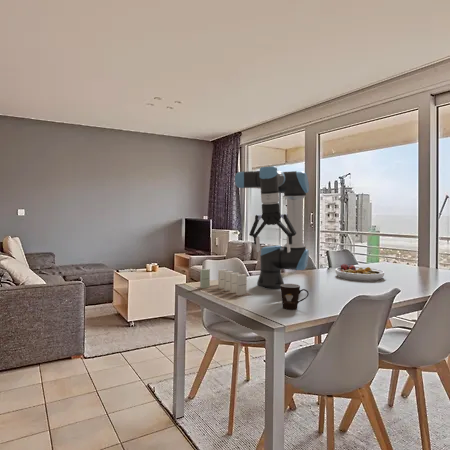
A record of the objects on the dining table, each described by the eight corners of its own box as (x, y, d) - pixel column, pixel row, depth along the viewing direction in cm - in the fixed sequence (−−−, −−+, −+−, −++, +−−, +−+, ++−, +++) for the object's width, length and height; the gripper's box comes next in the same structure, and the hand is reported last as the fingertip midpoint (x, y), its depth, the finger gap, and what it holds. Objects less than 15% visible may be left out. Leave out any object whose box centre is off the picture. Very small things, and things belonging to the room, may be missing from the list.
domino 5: (236, 294, 185) (236, 275, 185) (244, 293, 188) (244, 274, 187) (238, 295, 184) (238, 275, 183) (246, 294, 186) (246, 274, 186)
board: (194, 288, 203) (194, 287, 203) (221, 285, 212) (221, 284, 212) (223, 300, 176) (223, 298, 176) (252, 296, 185) (252, 294, 185)
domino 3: (224, 290, 195) (224, 271, 195) (232, 289, 198) (232, 270, 198) (225, 290, 194) (225, 272, 194) (233, 289, 197) (233, 271, 196)
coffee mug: (276, 307, 163) (276, 285, 163) (287, 304, 170) (287, 282, 169) (299, 313, 155) (299, 289, 155) (309, 309, 162) (309, 286, 161)
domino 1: (200, 287, 201) (200, 269, 201) (208, 286, 204) (208, 269, 204) (201, 288, 200) (201, 270, 200) (209, 287, 203) (209, 269, 202)
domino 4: (230, 292, 190) (230, 273, 190) (238, 291, 193) (238, 272, 193) (231, 293, 189) (231, 273, 189) (239, 292, 192) (240, 272, 191)
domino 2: (218, 288, 200) (218, 270, 200) (226, 287, 203) (226, 269, 203) (219, 288, 199) (219, 270, 199) (227, 287, 202) (227, 269, 201)
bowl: (393, 279, 237) (393, 267, 237) (365, 284, 220) (365, 271, 220) (354, 272, 262) (354, 261, 262) (325, 276, 245) (325, 264, 245)
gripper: (239, 205, 158) (243, 253, 161) (297, 202, 148) (300, 254, 151) (245, 203, 165) (249, 249, 168) (301, 200, 155) (303, 249, 158)
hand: (273, 251), depth 160 cm, fingers open, 13 cm apart
